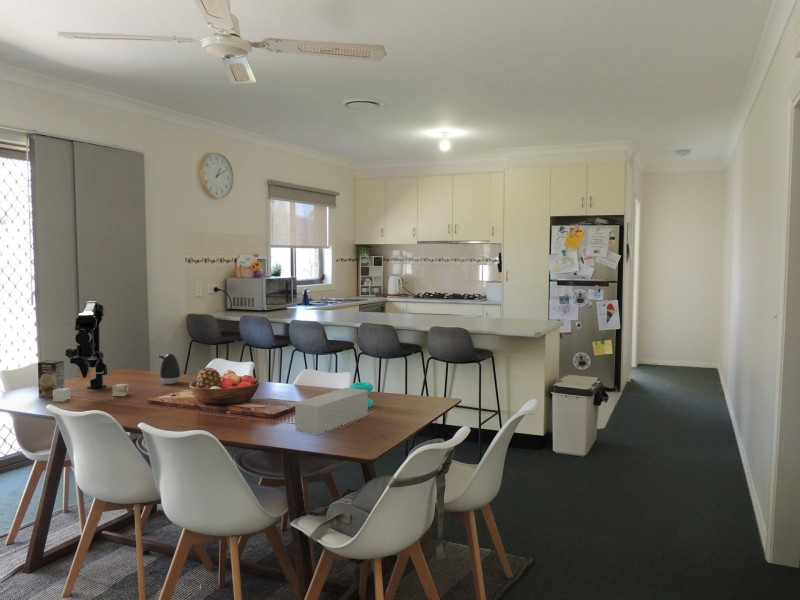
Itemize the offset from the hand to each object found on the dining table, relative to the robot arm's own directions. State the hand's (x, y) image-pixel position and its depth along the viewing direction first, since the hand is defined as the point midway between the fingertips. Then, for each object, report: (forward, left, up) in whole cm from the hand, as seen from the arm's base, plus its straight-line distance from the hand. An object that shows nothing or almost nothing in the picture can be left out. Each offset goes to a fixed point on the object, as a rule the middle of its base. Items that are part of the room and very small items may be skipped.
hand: (87, 376), depth 286 cm
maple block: (-6, +12, -10) cm, 17 cm away
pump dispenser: (-35, +24, -10) cm, 44 cm away
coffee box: (-4, -19, -10) cm, 22 cm away
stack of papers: (+40, +116, -10) cm, 123 cm away
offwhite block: (+4, -10, -10) cm, 15 cm away
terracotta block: (0, 0, -1) cm, 1 cm away
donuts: (+13, +125, -10) cm, 126 cm away
